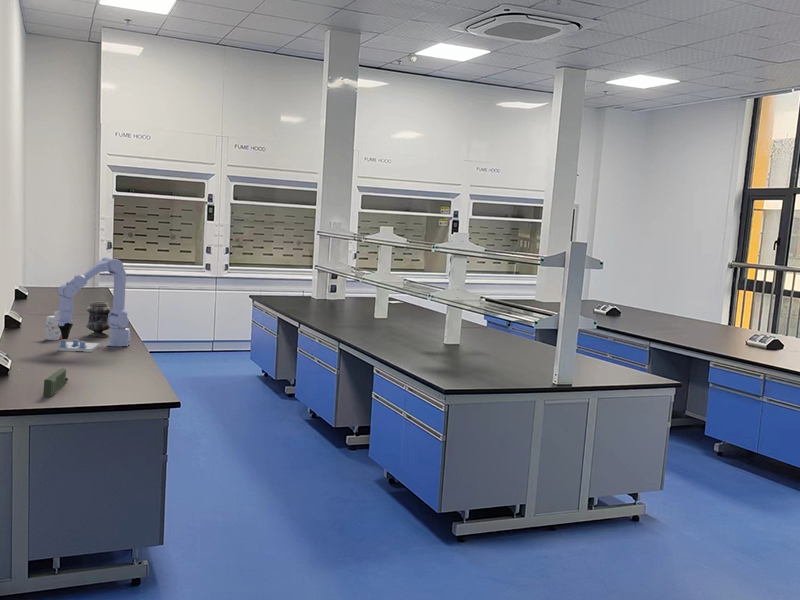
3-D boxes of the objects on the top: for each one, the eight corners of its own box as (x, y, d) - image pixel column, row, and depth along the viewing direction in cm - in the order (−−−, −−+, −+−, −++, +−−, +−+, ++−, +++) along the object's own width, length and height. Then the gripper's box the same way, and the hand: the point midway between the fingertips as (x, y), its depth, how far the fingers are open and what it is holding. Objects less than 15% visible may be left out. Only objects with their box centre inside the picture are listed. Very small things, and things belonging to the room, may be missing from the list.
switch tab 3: (86, 347, 343) (87, 341, 343) (85, 348, 341) (85, 342, 340) (79, 347, 343) (80, 341, 342) (78, 348, 340) (78, 342, 340)
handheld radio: (41, 397, 254) (61, 382, 279) (51, 398, 255) (70, 383, 280) (42, 379, 254) (62, 365, 278) (52, 379, 254) (71, 366, 279)
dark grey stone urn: (109, 334, 394) (110, 301, 393) (110, 337, 384) (112, 304, 382) (85, 333, 389) (86, 300, 387) (86, 337, 378) (87, 303, 377)
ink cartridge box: (56, 337, 372) (57, 308, 371) (64, 338, 371) (65, 309, 370) (45, 339, 364) (46, 310, 363) (53, 340, 363) (54, 311, 362)
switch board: (99, 346, 356) (99, 343, 356) (91, 352, 341) (91, 348, 340) (67, 345, 354) (67, 341, 354) (57, 350, 338) (57, 347, 338)
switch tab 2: (80, 345, 347) (80, 339, 347) (78, 346, 345) (78, 340, 344) (73, 344, 347) (73, 339, 347) (71, 345, 344) (71, 339, 344)
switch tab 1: (67, 346, 342) (68, 340, 342) (66, 347, 339) (66, 341, 339) (60, 346, 341) (60, 340, 341) (58, 347, 338) (59, 341, 338)
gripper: (61, 308, 347) (60, 336, 348) (52, 311, 333) (51, 341, 334) (77, 309, 348) (76, 336, 350) (68, 312, 334) (67, 341, 336)
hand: (65, 339), depth 342 cm, fingers closed
